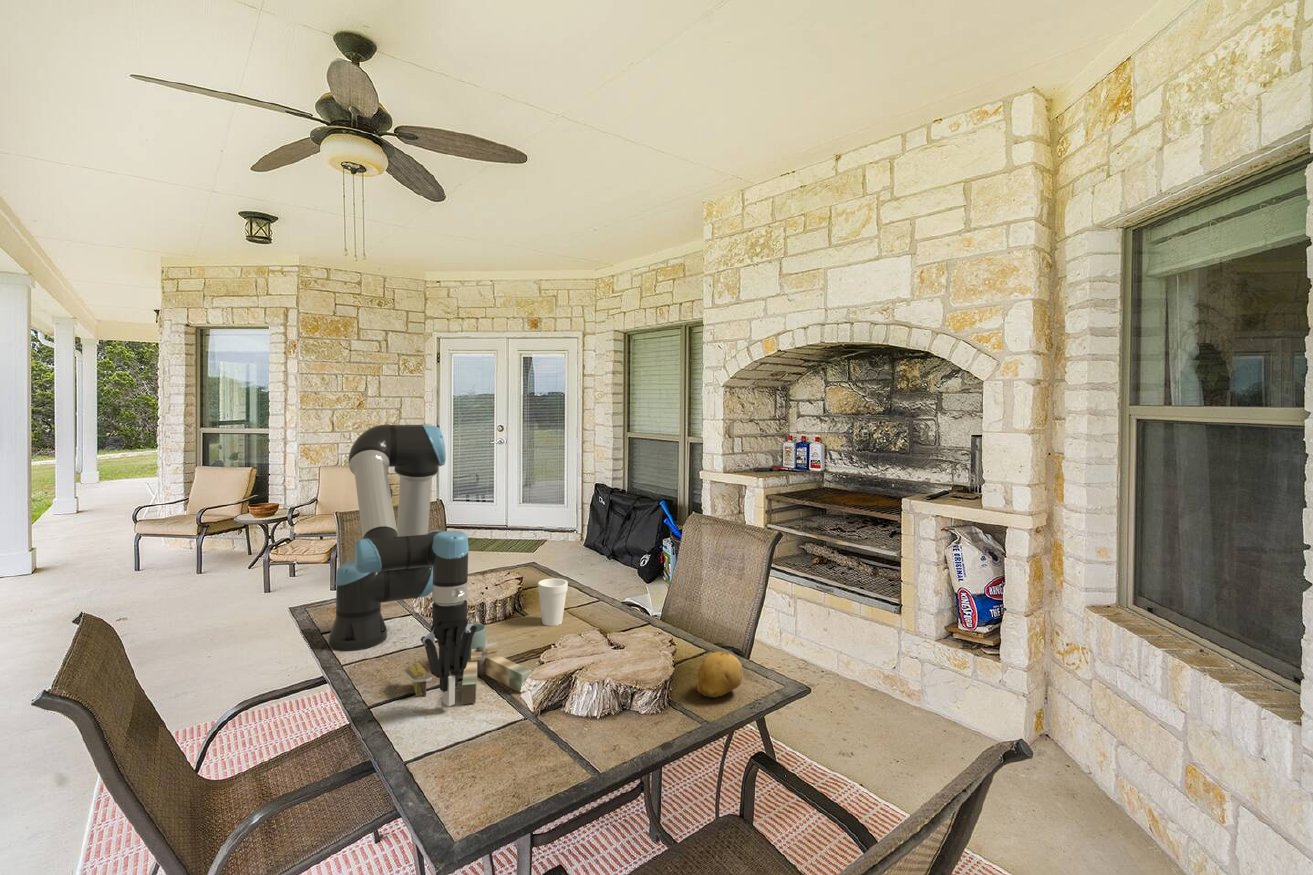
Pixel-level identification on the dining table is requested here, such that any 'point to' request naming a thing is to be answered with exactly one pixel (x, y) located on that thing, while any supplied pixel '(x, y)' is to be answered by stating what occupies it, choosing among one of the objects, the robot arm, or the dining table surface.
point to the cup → (478, 638)
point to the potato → (719, 674)
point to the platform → (418, 678)
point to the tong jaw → (471, 677)
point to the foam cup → (552, 600)
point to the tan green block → (502, 670)
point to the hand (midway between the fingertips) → (448, 702)
